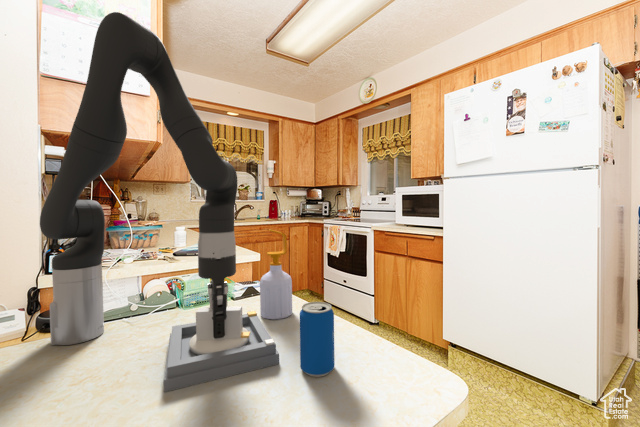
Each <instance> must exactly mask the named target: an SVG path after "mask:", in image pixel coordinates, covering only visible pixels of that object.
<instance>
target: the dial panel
mask: <svg viewBox="0 0 640 427" xmlns="http://www.w3.org/2000/svg"><path fill="white" fill-rule="evenodd" d="M242 323H243V328H246V329H247V330H248V331H249V332H250V336H249V341H248V342H247V344H246V345H244V346H242V347H237V348H232V349H228V350H223V351H218V352H213V353H209V354H204V355H197V354H195V353H193V352H191V350H190V346H189V342H190V339H191V338H192V337H193V336H194V335H196V321H195V322H189V323H185V324H178V325H173V326H171V333H170V334H169V340H168V347H167V354H166V362H165V371H164V378H163V387H164V390H163V392H164V393H167V392H170V391H175V390H177V389H178V390H179V389H183V388H186V387H191V386H195V385H200V384H203V383H207V382H211V381H216V380H218V379H219V380H220V379H222V378H227V377H232V376H235V375H239V374H243V373H247V372H252V371H256V370H259V369H264V368H268V367H272V366H277V365H279V364H280V353H279V351H278V350H277V344H276V342H275V341H274V340H275V339H274V338H272V336H271V335H270V333H269V331H268V330H267V329H266V327H265V325H264V324H263V323H262V321H261V319H260V318H259V316H258V313H257V311H255V310H252V311H247V313H246V314H242Z"/></svg>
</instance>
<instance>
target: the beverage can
mask: <svg viewBox="0 0 640 427" xmlns="http://www.w3.org/2000/svg"><path fill="white" fill-rule="evenodd" d="M299 349H300V350H299V357H300V358H299V359H300V360H299V363H300V365H299V367H300V369H301V371H303V373H305V374H306V375H308V376H311V377H314V378H320V377H325V376H327V375H328V374H330V373H331V372H332V371H333V370H334V369H335V313H334V310H333V309H332V304H330V303H328V302H324V301H311V302H307V303H304V304H302V305H301V310H300V312H299Z"/></svg>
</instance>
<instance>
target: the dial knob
mask: <svg viewBox="0 0 640 427" xmlns="http://www.w3.org/2000/svg"><path fill="white" fill-rule="evenodd" d="M216 314H222V311H221V312H216ZM226 315H227V318H226V320H225V336H224V337H223V338H217V339H215V338H214V337H213V320H212V317H213V314H212V309H210V307H199V308H198V309H197V310H196V311H195V322H196V335H194V336H193V337H192V338H191V339H190V342H189V346H190V350H191V352H193V353H195V354H197V355H204V354H209V353H213V352H218V351H223V350H228V349H232V348H237V347H242V346H244V345H246V344H247V342H248V341H249V336H250V332H249V331H248V330H247V329H246V328H243V323H242V315H243V305H240V306H238V305H237V306H234V305H233V306H227V307H226Z"/></svg>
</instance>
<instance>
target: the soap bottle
mask: <svg viewBox="0 0 640 427" xmlns="http://www.w3.org/2000/svg"><path fill="white" fill-rule="evenodd" d="M268 231H269V232H272V233H276V234H280V235H281V236H282V248H281V251H268V252H266V255H267V256H270V258H271V259H272V262H270V263H269V271H268V272H266V273H264V274H263V275H262V277H261V278H260V281H259V296H260V297H259V299H260V300H259V301H260V303H259V304H260V305H259V306H260V307H259V308H260V309H259V310H260V316H261V317H262V318H263V319H266V320H283V319H286V318H288V317H290V316H291V315H292V314H293V283H292V282H293V281H292V280H293V279H292V277H291V275H290V274H289V273H287V272H286V271H284V270H283V269H282V261H279V260H280V258H281V256H283V255H286V253H287V251H288V250H287V249H288V248H287V246H288V245H287V235H286V234H285V233H283V232H281V231H278V230H276V229H271V228H269V229H268Z"/></svg>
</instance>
